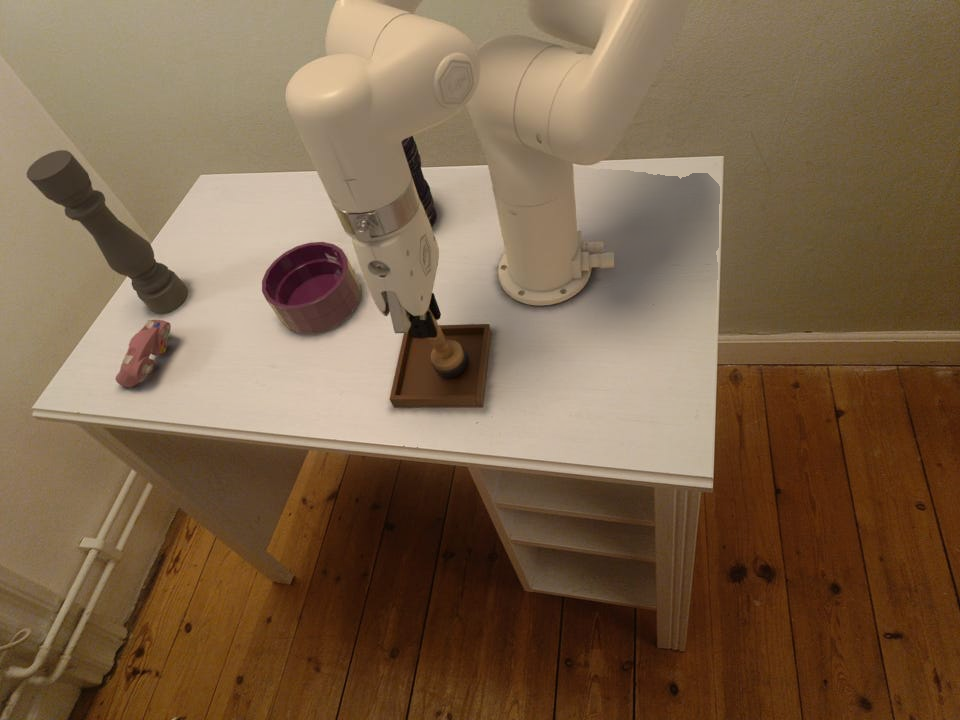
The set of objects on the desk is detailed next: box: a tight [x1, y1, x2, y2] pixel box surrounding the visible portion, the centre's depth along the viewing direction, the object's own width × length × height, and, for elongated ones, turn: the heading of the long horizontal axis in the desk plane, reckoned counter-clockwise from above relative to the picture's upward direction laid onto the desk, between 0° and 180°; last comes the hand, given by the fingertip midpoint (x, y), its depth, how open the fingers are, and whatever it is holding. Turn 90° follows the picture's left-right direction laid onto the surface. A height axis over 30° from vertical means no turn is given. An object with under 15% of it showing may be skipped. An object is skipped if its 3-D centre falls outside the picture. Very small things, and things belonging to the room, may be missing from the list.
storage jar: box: [401, 135, 438, 229], centre depth 89 cm, size 10×10×15 cm
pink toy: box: [115, 319, 171, 388], centre depth 85 cm, size 10×5×7 cm, turn 169°
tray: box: [389, 323, 493, 409], centre depth 77 cm, size 11×11×2 cm
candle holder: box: [26, 149, 189, 315], centre depth 85 cm, size 6×6×25 cm
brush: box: [427, 308, 469, 379], centre depth 71 cm, size 4×4×14 cm
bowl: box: [261, 241, 362, 334], centre depth 86 cm, size 12×12×6 cm
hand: (425, 326), depth 70 cm, fingers closed on brush, 2 cm apart
